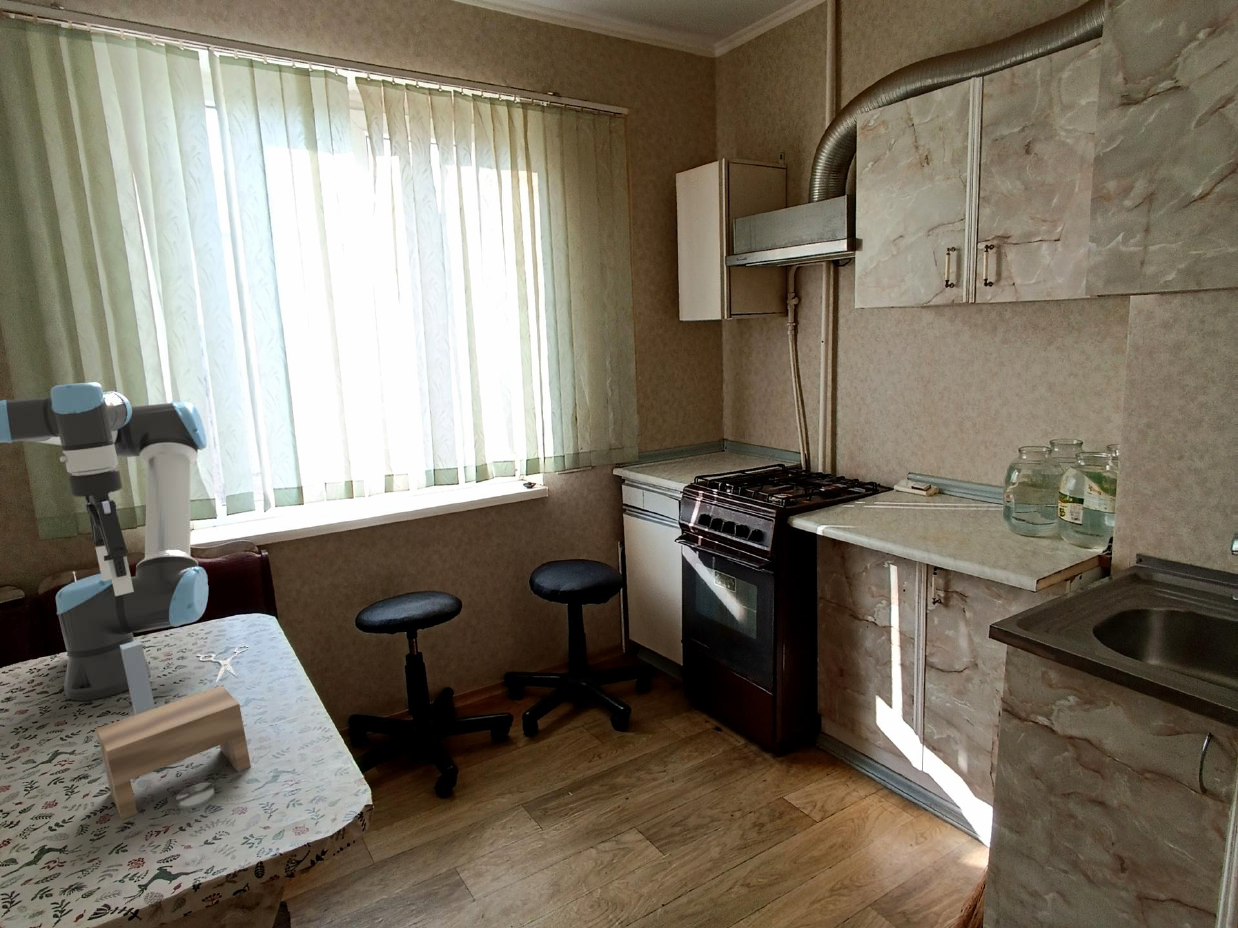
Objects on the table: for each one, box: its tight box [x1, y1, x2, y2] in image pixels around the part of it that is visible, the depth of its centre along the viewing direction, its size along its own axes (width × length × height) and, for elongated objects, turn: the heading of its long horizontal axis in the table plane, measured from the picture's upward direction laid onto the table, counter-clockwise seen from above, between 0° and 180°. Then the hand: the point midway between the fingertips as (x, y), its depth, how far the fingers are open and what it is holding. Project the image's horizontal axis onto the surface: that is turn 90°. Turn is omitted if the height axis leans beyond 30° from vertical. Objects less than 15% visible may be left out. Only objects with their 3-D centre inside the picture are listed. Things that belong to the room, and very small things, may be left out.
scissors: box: [196, 645, 250, 683], centre depth 166 cm, size 11×1×20 cm
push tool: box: [120, 639, 156, 716], centre depth 133 cm, size 19×6×16 cm, turn 42°
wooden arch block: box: [95, 685, 252, 821], centre depth 120 cm, size 10×18×11 cm, turn 132°
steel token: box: [175, 782, 216, 810], centre depth 115 cm, size 5×5×1 cm
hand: (117, 586), depth 137 cm, fingers open, 13 cm apart
